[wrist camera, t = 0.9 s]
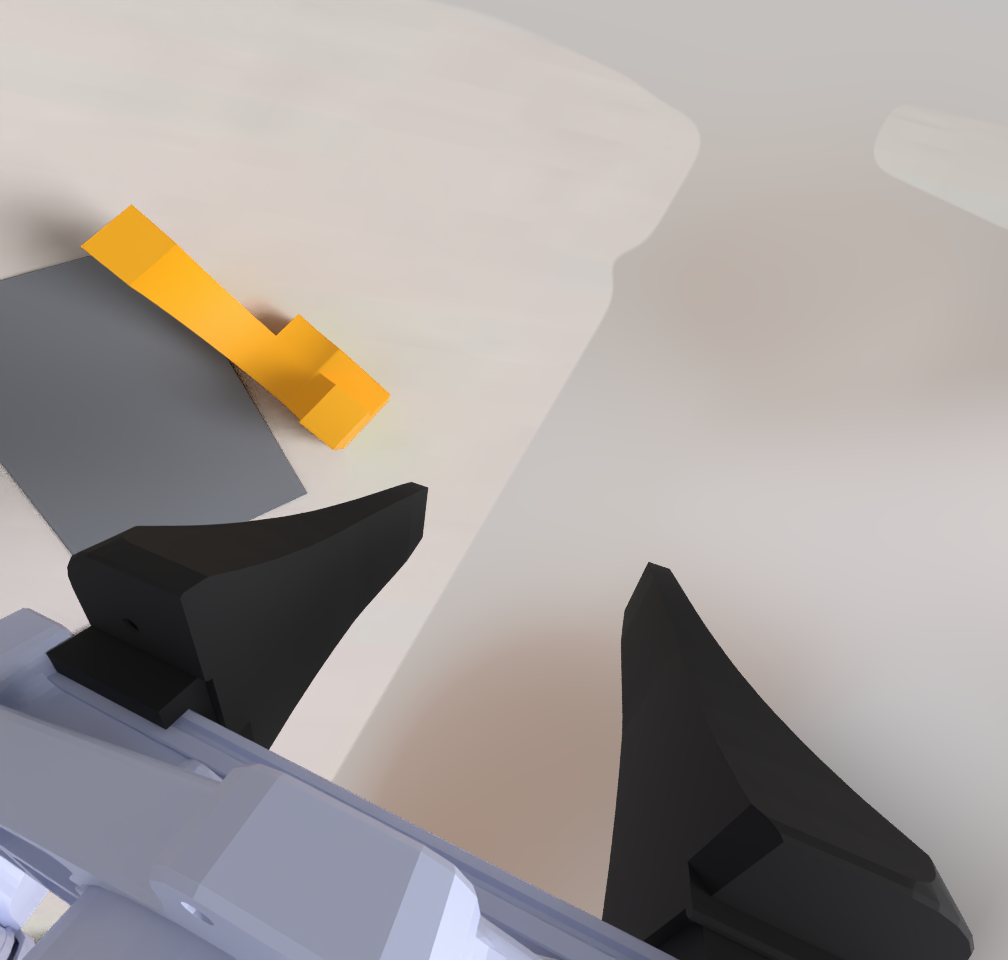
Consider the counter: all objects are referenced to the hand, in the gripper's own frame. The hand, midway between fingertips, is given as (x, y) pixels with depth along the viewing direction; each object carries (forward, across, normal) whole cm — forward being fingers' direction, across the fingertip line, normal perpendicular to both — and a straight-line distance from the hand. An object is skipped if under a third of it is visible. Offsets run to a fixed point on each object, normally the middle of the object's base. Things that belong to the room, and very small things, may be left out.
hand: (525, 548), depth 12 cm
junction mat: (+4, +24, +4) cm, 24 cm away
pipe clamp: (+10, +18, 0) cm, 21 cm away
